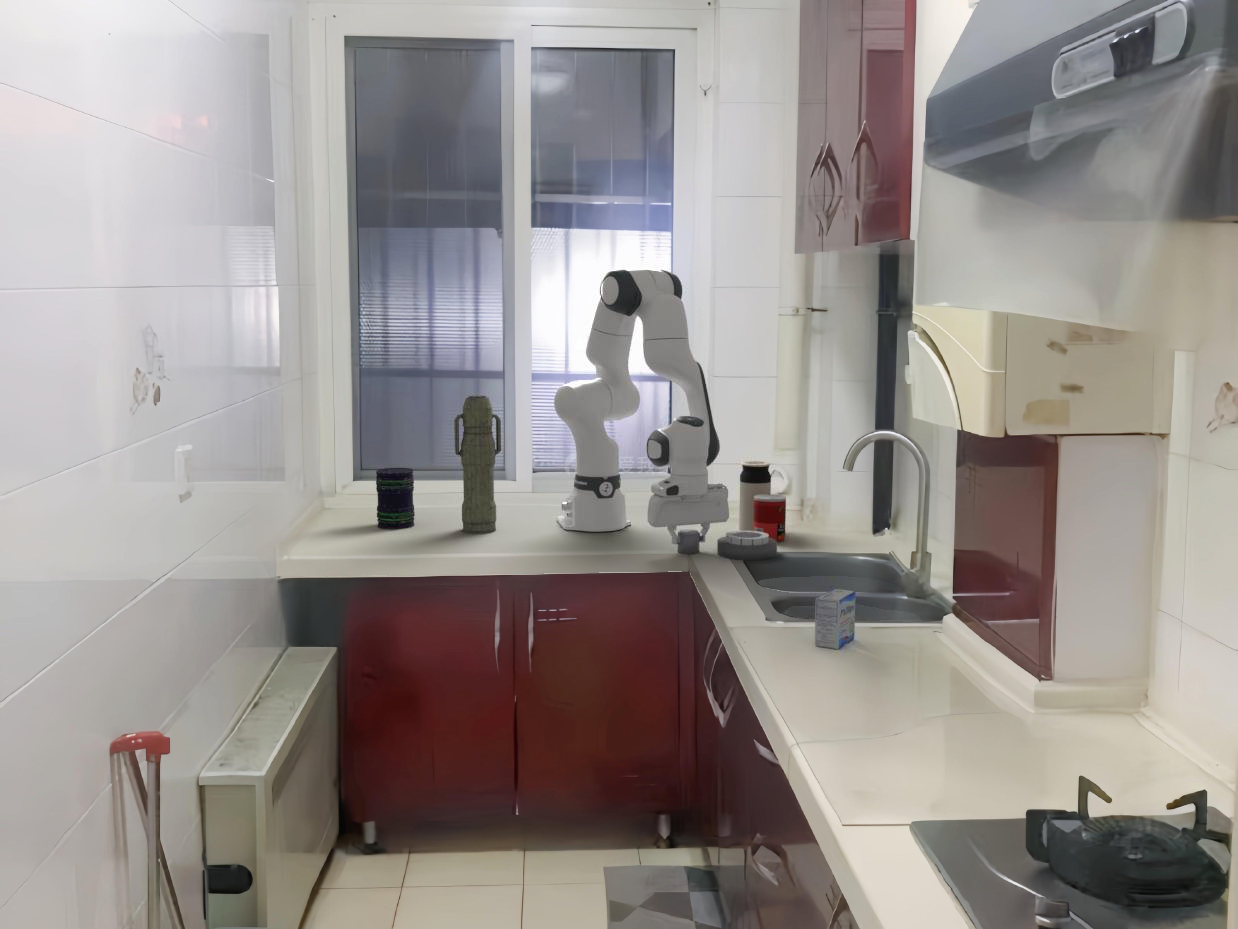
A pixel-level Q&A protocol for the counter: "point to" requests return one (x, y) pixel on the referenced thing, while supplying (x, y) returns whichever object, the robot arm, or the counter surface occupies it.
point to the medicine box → (835, 618)
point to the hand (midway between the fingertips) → (688, 542)
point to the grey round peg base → (747, 545)
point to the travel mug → (752, 490)
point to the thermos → (478, 463)
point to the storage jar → (395, 498)
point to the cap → (688, 541)
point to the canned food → (770, 515)
